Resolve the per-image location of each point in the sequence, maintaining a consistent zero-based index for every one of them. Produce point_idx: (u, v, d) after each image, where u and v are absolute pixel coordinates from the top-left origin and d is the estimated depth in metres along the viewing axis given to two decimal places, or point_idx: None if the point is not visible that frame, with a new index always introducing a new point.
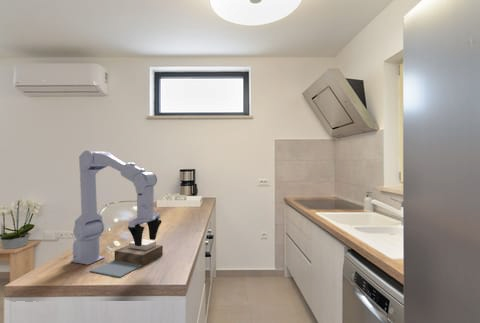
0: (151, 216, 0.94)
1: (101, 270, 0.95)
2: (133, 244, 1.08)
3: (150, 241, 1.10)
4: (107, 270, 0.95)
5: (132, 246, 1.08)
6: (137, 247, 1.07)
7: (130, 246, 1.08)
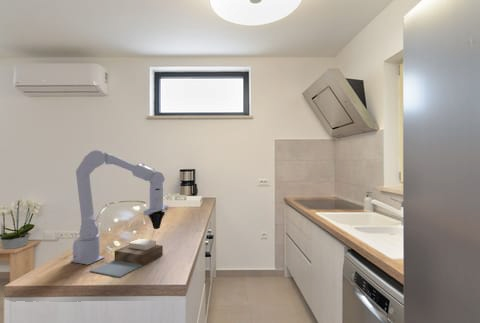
0: (161, 207, 1.17)
1: (101, 270, 0.95)
2: (133, 244, 1.08)
3: (150, 241, 1.10)
4: (107, 270, 0.95)
5: (132, 246, 1.08)
6: (137, 247, 1.07)
7: (130, 246, 1.08)
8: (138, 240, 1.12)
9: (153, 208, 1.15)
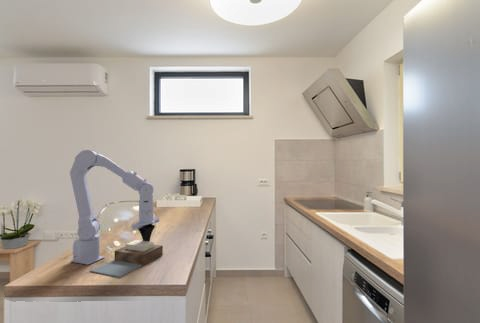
0: (151, 220, 1.11)
1: (101, 270, 0.95)
2: (130, 245, 1.06)
3: (147, 242, 1.09)
4: (107, 270, 0.95)
5: (129, 247, 1.06)
6: (134, 248, 1.05)
7: (127, 247, 1.07)
8: (135, 241, 1.10)
9: (142, 221, 1.09)
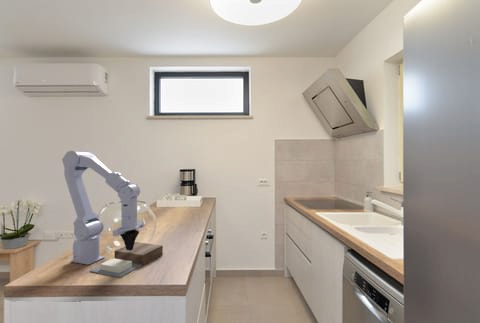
0: (134, 225, 1.02)
1: (101, 270, 0.95)
2: None
3: None
4: None
5: None
6: None
7: None
8: None
9: (125, 227, 1.00)
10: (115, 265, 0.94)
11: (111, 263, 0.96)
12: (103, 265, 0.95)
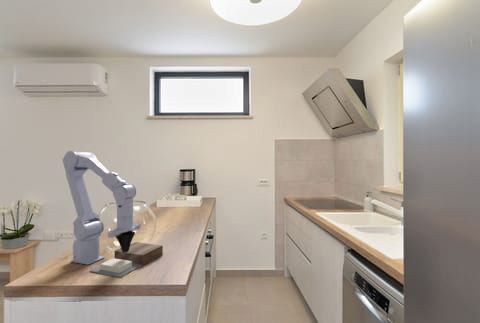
0: (130, 227, 1.00)
1: (101, 270, 0.95)
2: None
3: None
4: None
5: None
6: None
7: None
8: None
9: (120, 228, 0.98)
10: (115, 265, 0.94)
11: (111, 263, 0.96)
12: (103, 265, 0.95)
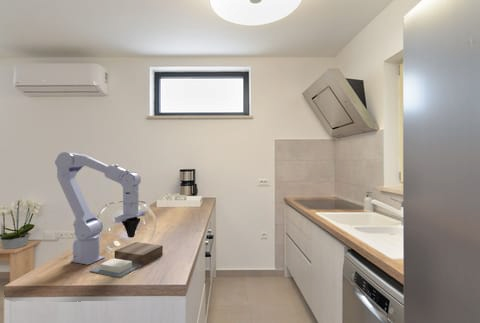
0: (136, 213, 1.04)
1: (101, 270, 0.95)
2: None
3: None
4: None
5: None
6: None
7: None
8: None
9: (126, 214, 1.02)
10: (115, 265, 0.94)
11: (111, 263, 0.96)
12: (103, 265, 0.95)
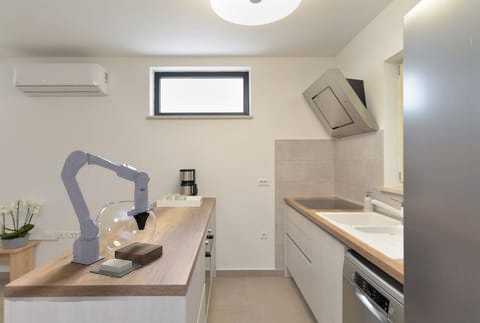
0: (146, 208, 1.15)
1: (101, 270, 0.95)
2: None
3: None
4: None
5: None
6: None
7: None
8: None
9: (137, 209, 1.13)
10: (115, 265, 0.94)
11: (111, 263, 0.96)
12: (103, 265, 0.95)
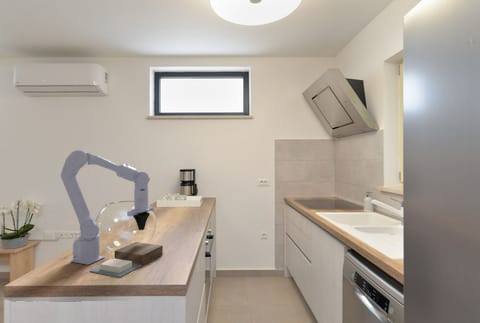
0: (146, 208, 1.15)
1: (101, 270, 0.95)
2: None
3: None
4: None
5: None
6: None
7: None
8: None
9: (137, 209, 1.13)
10: (115, 265, 0.94)
11: (111, 263, 0.96)
12: (103, 265, 0.95)
